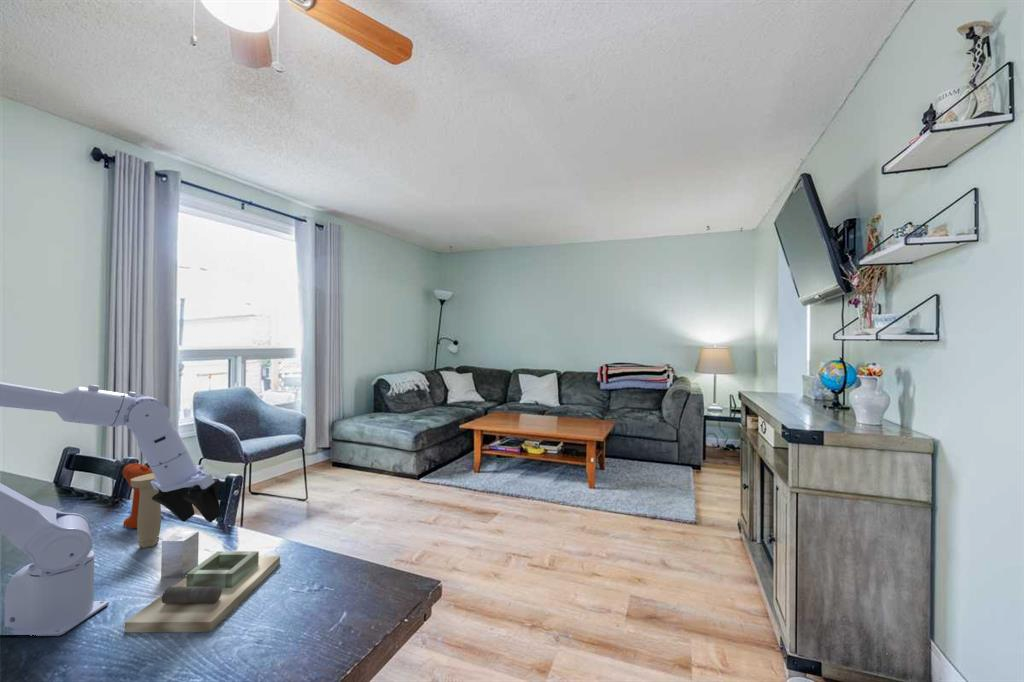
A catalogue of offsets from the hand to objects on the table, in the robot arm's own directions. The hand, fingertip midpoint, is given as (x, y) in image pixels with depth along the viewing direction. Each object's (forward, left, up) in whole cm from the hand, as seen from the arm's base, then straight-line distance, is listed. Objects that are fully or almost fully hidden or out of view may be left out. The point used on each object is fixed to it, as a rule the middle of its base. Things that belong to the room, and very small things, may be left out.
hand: (201, 518), depth 80 cm
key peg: (-5, +1, -11) cm, 12 cm away
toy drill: (-35, +25, -11) cm, 44 cm away
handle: (-20, +12, -11) cm, 25 cm away
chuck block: (+6, -6, -11) cm, 14 cm away
